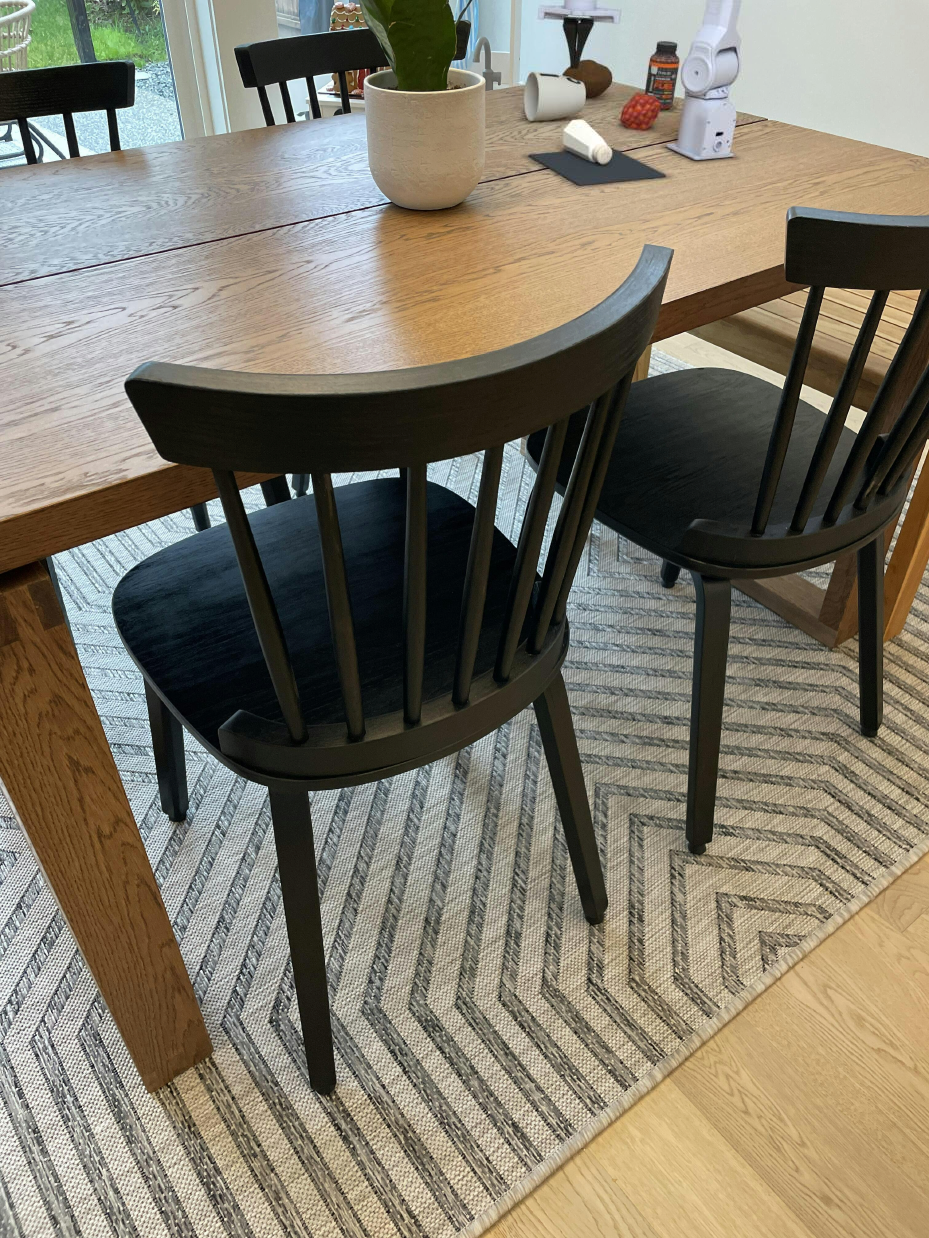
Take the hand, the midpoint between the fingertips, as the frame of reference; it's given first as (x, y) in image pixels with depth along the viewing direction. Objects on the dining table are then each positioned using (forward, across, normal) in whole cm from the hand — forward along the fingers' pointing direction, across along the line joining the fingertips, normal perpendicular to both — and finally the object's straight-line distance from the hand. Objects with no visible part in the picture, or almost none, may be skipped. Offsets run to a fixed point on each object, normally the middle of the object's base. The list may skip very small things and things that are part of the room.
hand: (574, 68), depth 169 cm
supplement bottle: (+9, +16, +19) cm, 27 cm away
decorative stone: (+9, +13, 0) cm, 16 cm away
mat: (+9, +8, -29) cm, 31 cm away
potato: (+9, +1, +24) cm, 25 cm away
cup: (+6, +1, +4) cm, 7 cm away
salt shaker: (+7, +3, -20) cm, 22 cm away
